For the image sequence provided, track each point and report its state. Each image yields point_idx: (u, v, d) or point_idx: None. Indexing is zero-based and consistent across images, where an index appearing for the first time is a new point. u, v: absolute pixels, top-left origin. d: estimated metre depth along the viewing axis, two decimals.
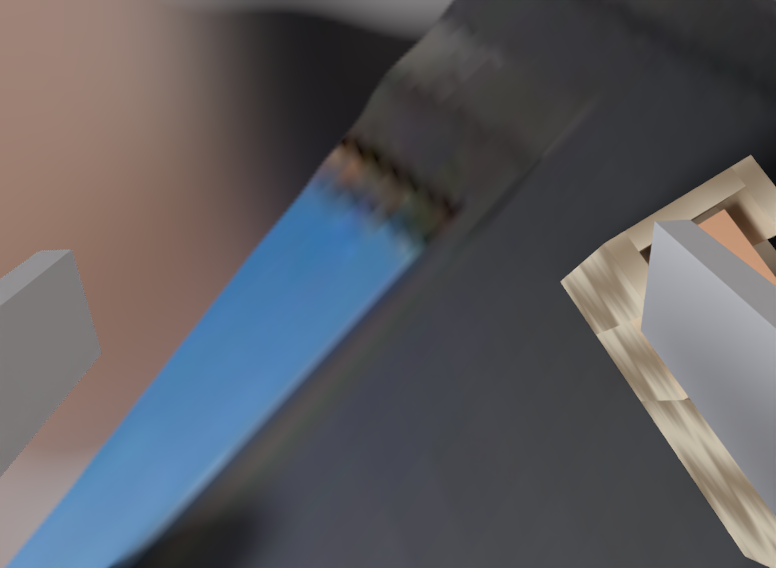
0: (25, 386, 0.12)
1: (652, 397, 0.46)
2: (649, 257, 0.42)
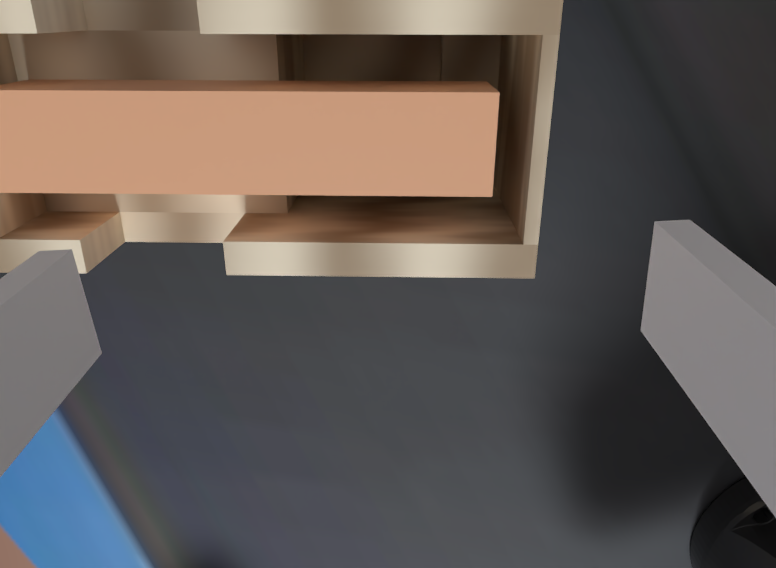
0: (25, 386, 0.12)
1: None
2: None
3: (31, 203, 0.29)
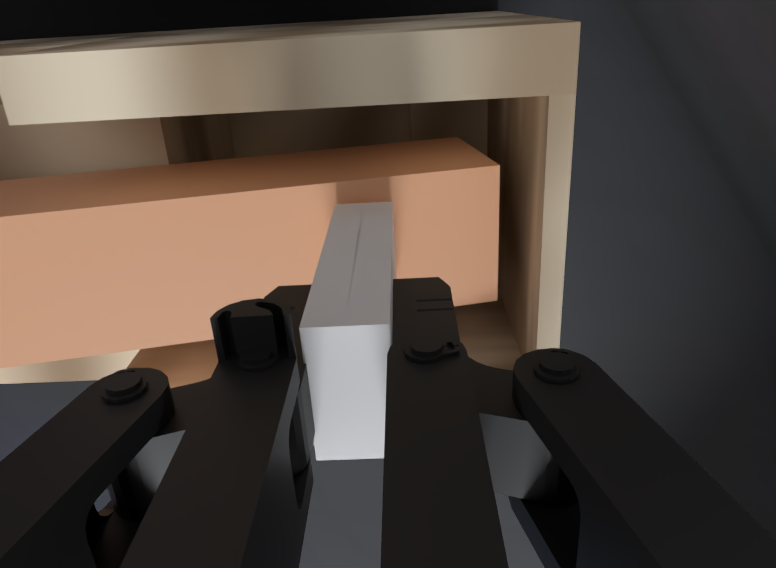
0: None
1: None
2: None
3: None
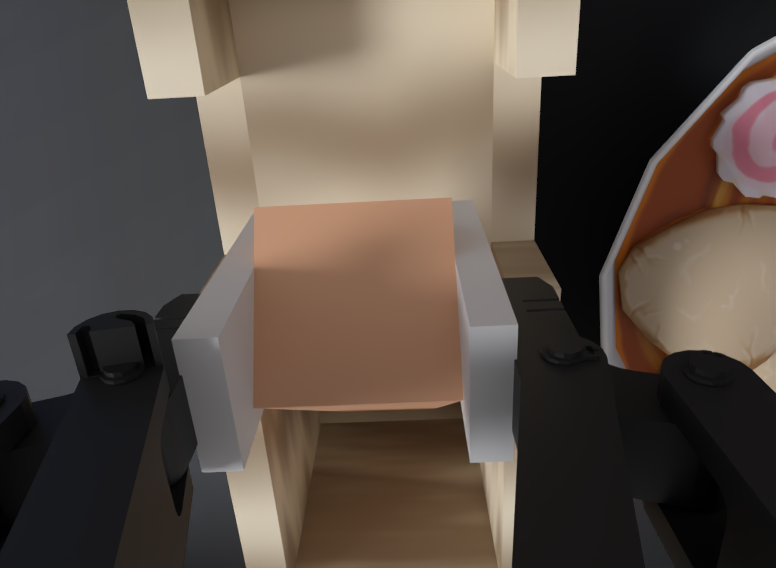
0: None
1: None
2: (255, 221, 0.13)
3: None
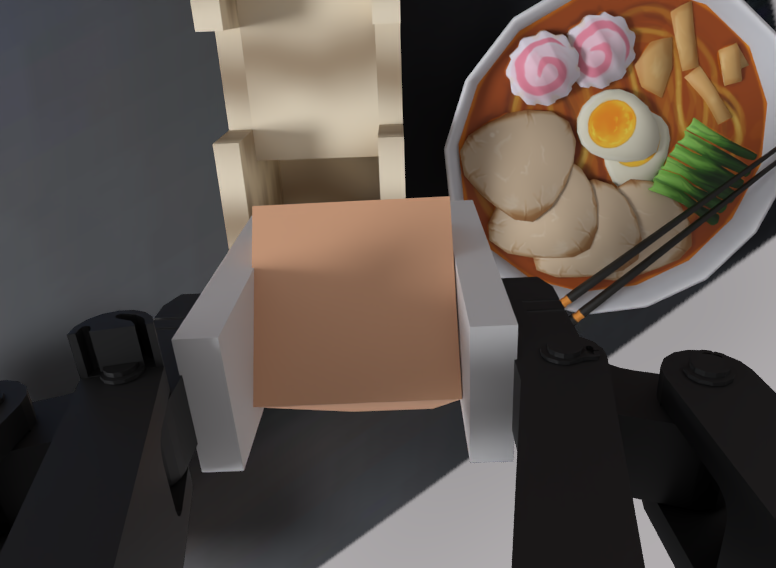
0: None
1: None
2: (253, 220, 0.13)
3: None
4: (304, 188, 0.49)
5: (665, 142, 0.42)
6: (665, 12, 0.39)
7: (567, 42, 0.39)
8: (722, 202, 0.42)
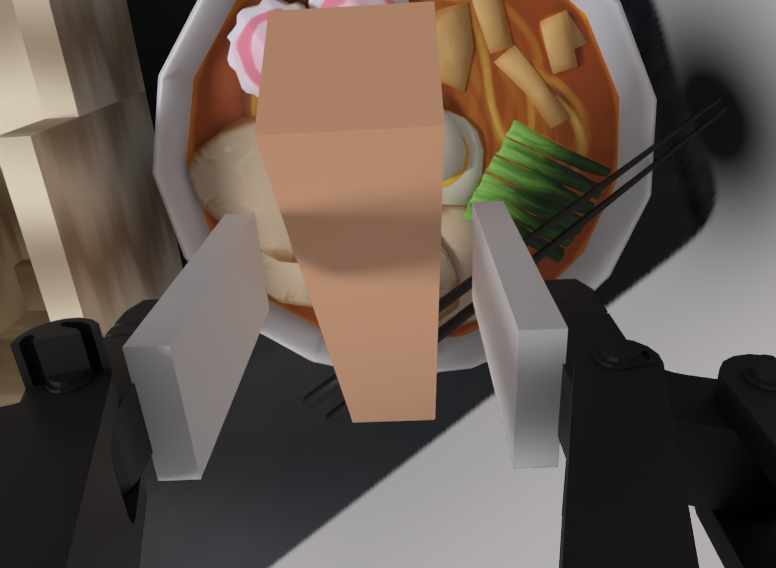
0: (239, 328, 0.14)
1: None
2: (268, 22, 0.15)
3: None
4: None
5: (477, 155, 0.29)
6: None
7: None
8: (555, 240, 0.30)
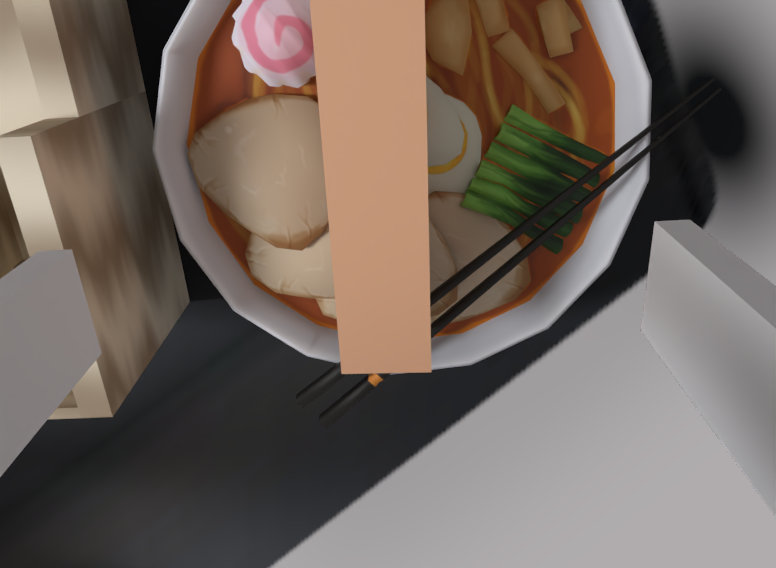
0: (25, 386, 0.12)
1: None
2: None
3: None
4: None
5: (476, 140, 0.30)
6: None
7: None
8: (555, 224, 0.29)
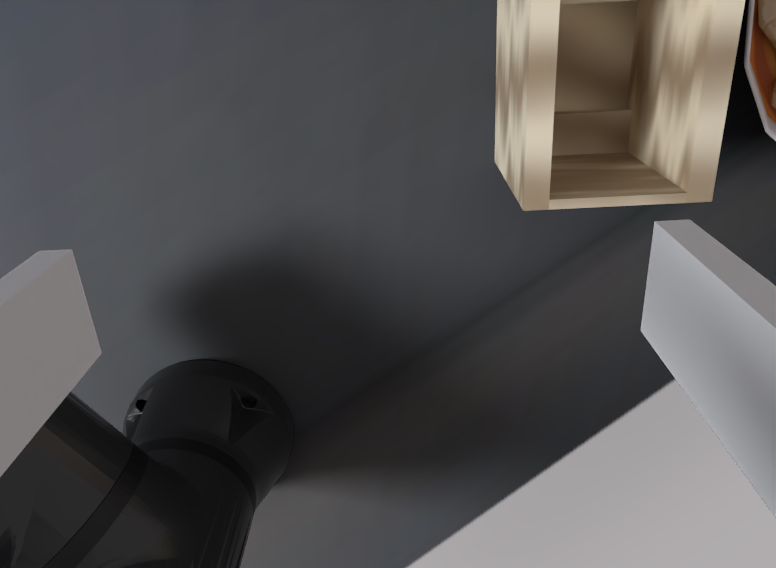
0: (25, 386, 0.12)
1: None
2: None
3: None
4: None
5: None
6: None
7: None
8: None
